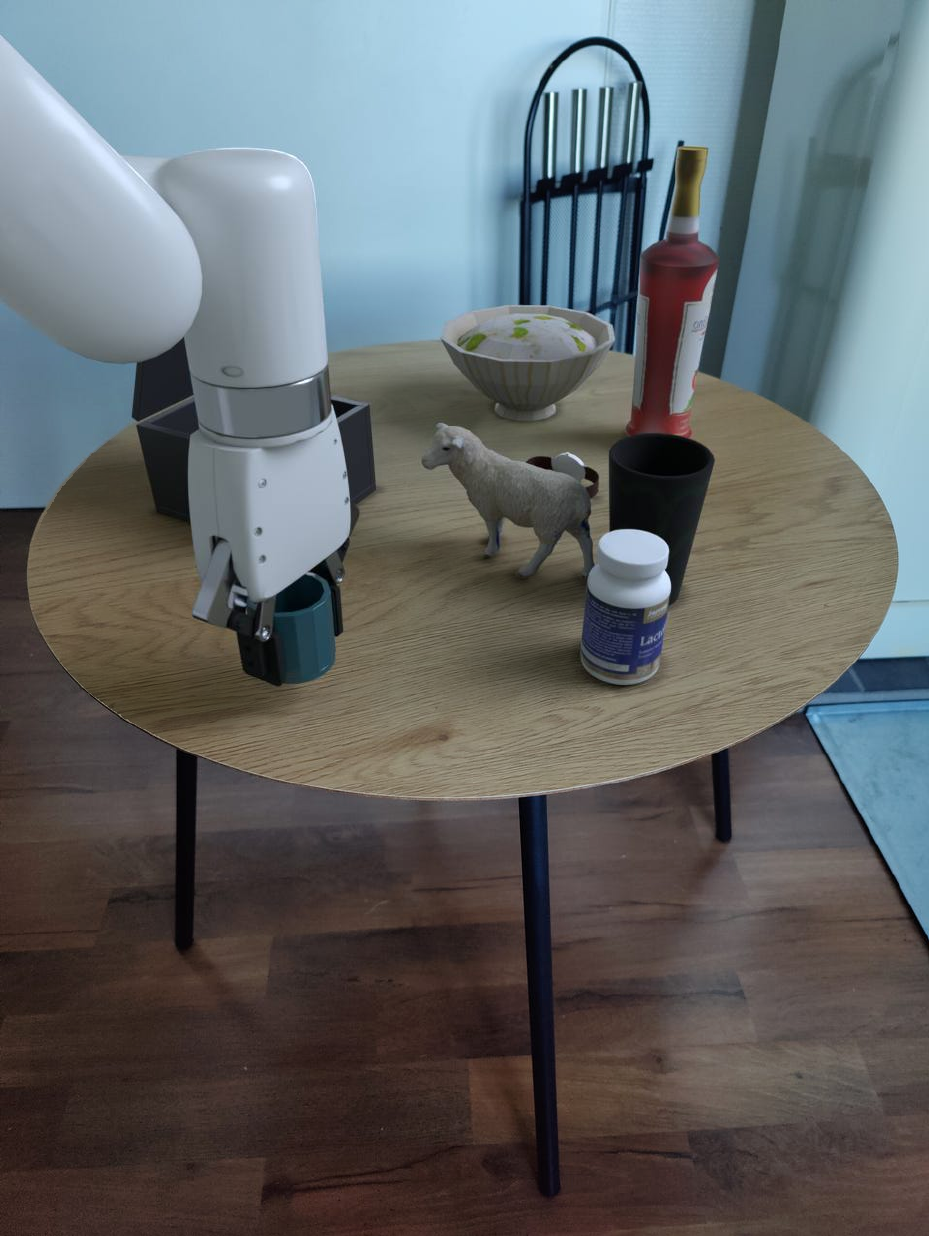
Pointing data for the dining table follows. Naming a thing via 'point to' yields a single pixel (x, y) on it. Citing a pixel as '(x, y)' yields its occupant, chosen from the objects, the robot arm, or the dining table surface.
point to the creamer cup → (304, 628)
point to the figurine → (515, 495)
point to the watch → (569, 469)
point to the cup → (660, 492)
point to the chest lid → (161, 382)
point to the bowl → (527, 354)
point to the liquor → (673, 309)
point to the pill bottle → (626, 607)
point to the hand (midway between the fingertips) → (294, 650)
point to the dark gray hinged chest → (173, 427)
